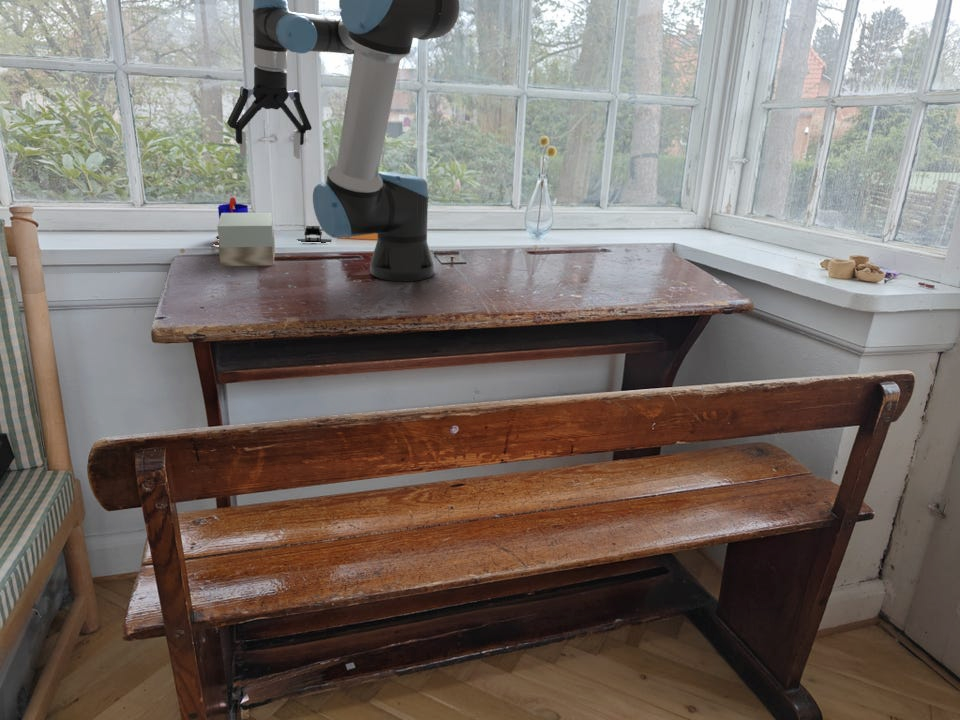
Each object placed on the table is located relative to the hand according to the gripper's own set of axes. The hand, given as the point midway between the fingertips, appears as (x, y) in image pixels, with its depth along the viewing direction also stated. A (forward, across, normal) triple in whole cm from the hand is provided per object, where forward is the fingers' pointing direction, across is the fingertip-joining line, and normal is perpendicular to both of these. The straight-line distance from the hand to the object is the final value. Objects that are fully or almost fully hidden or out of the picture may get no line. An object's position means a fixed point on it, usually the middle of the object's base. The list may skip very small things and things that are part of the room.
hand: (270, 157), depth 168 cm
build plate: (+23, -11, +5) cm, 25 cm away
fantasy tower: (+24, +8, -2) cm, 25 cm away
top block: (+16, +10, +14) cm, 23 cm away
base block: (+21, +10, +14) cm, 27 cm away
